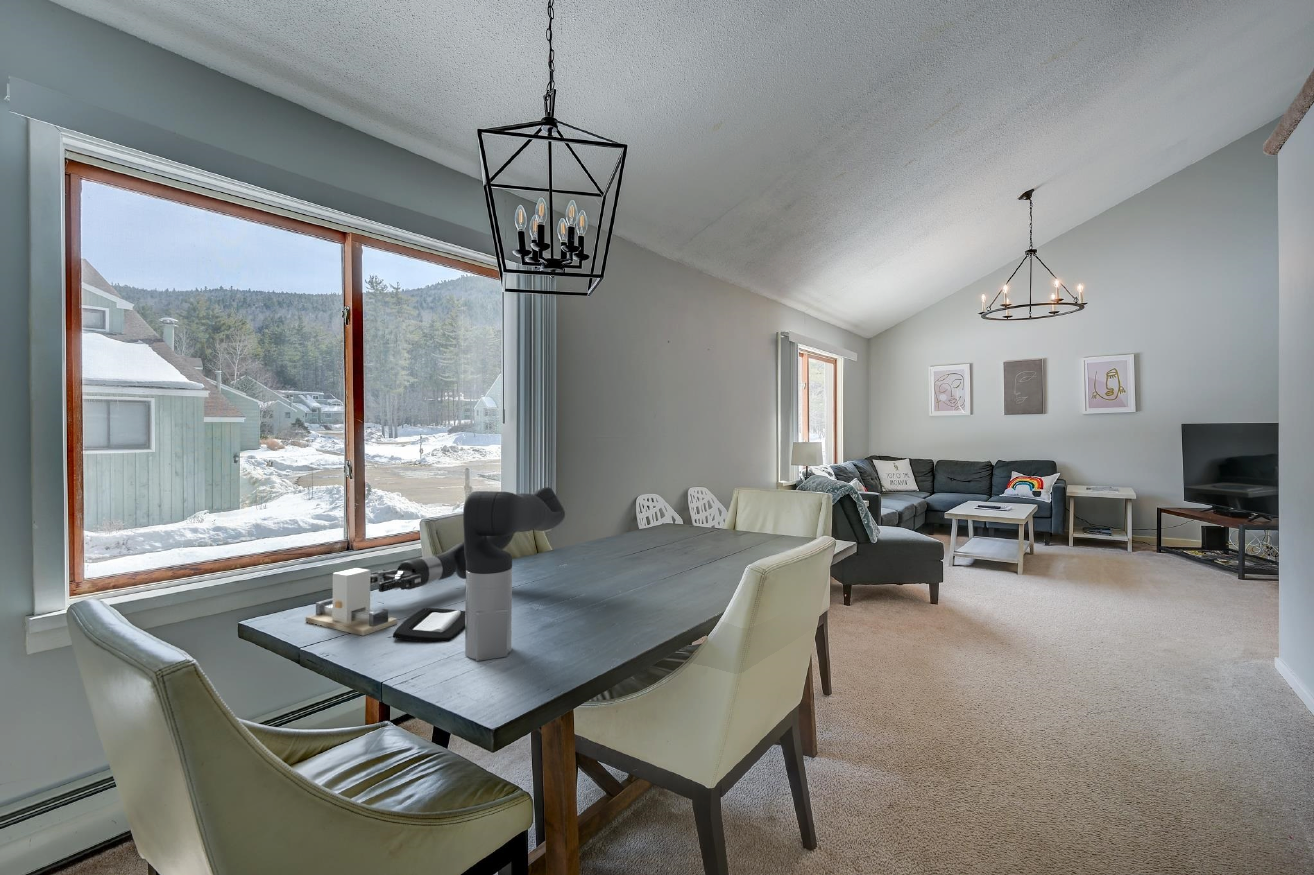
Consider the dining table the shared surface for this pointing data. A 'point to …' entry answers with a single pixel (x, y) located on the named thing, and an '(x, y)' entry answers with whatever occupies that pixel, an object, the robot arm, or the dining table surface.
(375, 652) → the dining table surface
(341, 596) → the block
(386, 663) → the dining table surface
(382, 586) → the robot arm
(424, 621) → the light switch
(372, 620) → the rail
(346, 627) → the mounting board
